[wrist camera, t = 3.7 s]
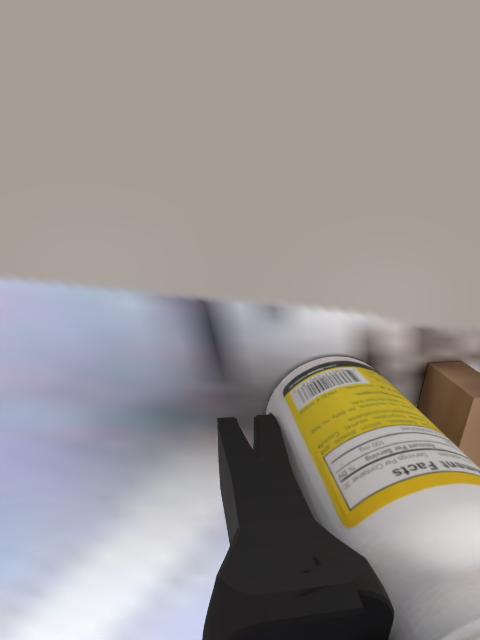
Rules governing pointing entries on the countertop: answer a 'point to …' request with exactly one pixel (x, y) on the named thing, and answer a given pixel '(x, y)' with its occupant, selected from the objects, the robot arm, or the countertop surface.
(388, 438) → the supplement bottle
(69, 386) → the countertop surface
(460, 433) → the wooden l-shaped block
